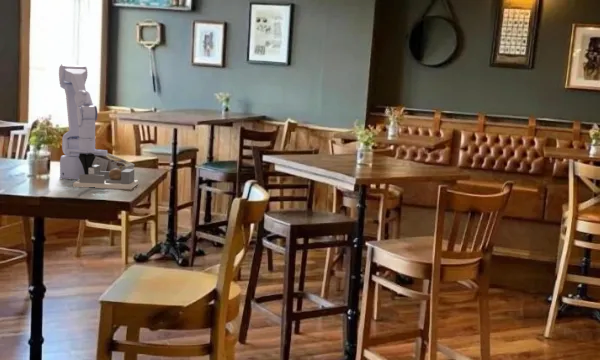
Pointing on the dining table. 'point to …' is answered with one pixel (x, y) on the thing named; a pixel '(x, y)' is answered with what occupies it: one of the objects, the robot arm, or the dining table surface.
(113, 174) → the tan brown ball
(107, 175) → the press board
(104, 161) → the coffee box
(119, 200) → the dining table surface
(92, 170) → the block
